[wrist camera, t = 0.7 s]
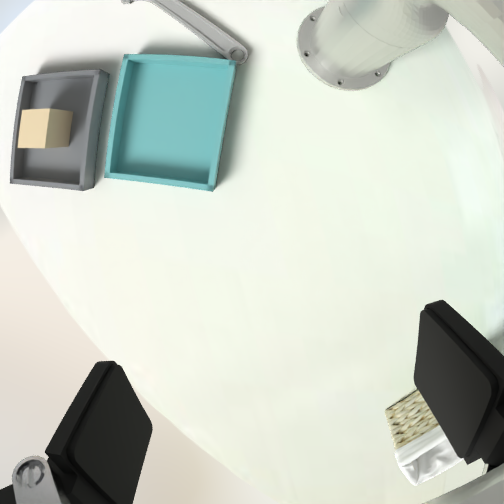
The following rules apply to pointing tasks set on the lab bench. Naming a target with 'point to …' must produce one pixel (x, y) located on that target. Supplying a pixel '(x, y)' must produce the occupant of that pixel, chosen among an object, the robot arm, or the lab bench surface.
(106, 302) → the lab bench surface
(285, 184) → the lab bench surface
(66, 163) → the charcoal bin
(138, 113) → the teal bin
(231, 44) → the adjustable wrench
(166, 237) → the lab bench surface
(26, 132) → the sandstone block
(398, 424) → the storage basket
